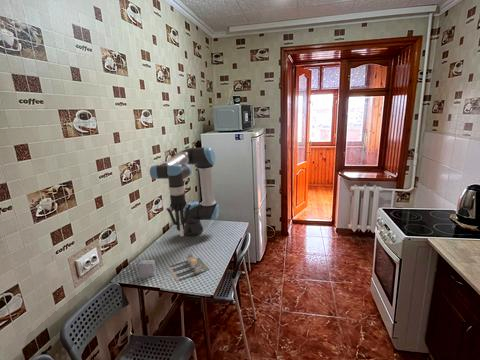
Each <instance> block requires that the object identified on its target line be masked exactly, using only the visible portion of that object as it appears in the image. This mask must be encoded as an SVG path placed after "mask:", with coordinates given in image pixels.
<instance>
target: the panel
mask: <svg viewBox="0 0 480 360" xmlns="http://www.w3.org/2000/svg"><path fill="white" fill-rule="evenodd" d="M194 259H196V260H197V264H198V263H199V264H200V265H201V267H202V272H199V273H196V272H195V268H193V269H192V267H191V263H190V264H189V263H188V262H187V260H185V261H181V262H178V263H175V264H172V265H170V266H169V267H168V270H169V271H170V273H171V275H172V277H173V278H174V280H175V281H176V282H178V281H179V282H180V281H183V280H185V279H189V278H192V277H194V276H195V277H196V276H197V275H201V274H203V273H206V272H208V271H210V270H211V269H210V268H209V267H208V266H207V265H206V263H204V261H203V260H202V259H201V258H200V257H198V258H196V257H194ZM186 263H187V264H186ZM182 264H185V265H182ZM179 265H182V266H179ZM175 266H178V267H175ZM174 267H175V268H174ZM187 268H190V269H188V270H185V271H181V270H184V269H187ZM203 269H204V270H203ZM178 271H181V272H179V273H177V272H178ZM194 272H195V273H194ZM191 273H193V274H191ZM187 274H190V275H187ZM184 275H187V276H184ZM182 276H184V277H182ZM181 277H182V278H181Z"/></svg>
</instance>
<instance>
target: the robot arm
mask: <svg viewBox="0 0 480 360" xmlns="http://www.w3.org/2000/svg"><path fill="white" fill-rule="evenodd" d="M215 164H216V154H215V151H214V149H213V148H212V147H189V148H186V149H182V150H181V151H179V152H177V153H176V154H175V156H173V157H172V158H171V157H170V159H168V160H166V161H164V162H163V163H161V164H159V165H158V164H156V165H151V166H150V167H149V168H150V169H149V177H151V178H152V179H157V180H161V179H162V180H164V179H165V180H166V179H168V186H169V187H168V189H169V194H170V196H169V198H170V204H169V207H167V208H165V209H166V211H167V212H168V214H169V217H170V220H171V221H172V224H173V225H174V226H176V230H177V231H178V232H179V236H180V237H184V235H185V236H188V237H195V236H199V235H202V234H203V233H204V226H203V225H202V223H201V220H203V221H216V220H217V219H218V218H219V214H220V204H218V203H217V200H216V199H215V195H214V184H213V173H212V169H213V167H214V165H215ZM191 165H193V166H194V165H195V166H196V169H197V170H198V171H199V179H200V180H199V182H200V188H201V189H200V191H201V199H202V201H201V202H199V201H197V200H196V201H189V202H187V201H186V196H185V184H184V182H185V181H184V179H187V178H189V176H191V175H192V171H193V170H192V167H191ZM172 210H173V211H174V213H173V211H172ZM174 215H175V216H174ZM202 232H203V233H202Z"/></svg>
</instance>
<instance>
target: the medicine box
mask: <svg viewBox="0 0 480 360" xmlns="http://www.w3.org/2000/svg"><path fill="white" fill-rule="evenodd" d="M137 266H138V267H137V268H138V274H139V279H151V277H154V276H155V275H156V273H157V266H156V260H155V259H145V260H144V259H143V260H140V262H139V263H138V265H137Z"/></svg>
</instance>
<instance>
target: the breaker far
mask: <svg viewBox="0 0 480 360" xmlns="http://www.w3.org/2000/svg"><path fill="white" fill-rule="evenodd" d="M194 258H195V257H194V255H193V254H190V253H189V254H188V255H186V261H187V262H186V263H187V264H190V260H192V259H194Z"/></svg>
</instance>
